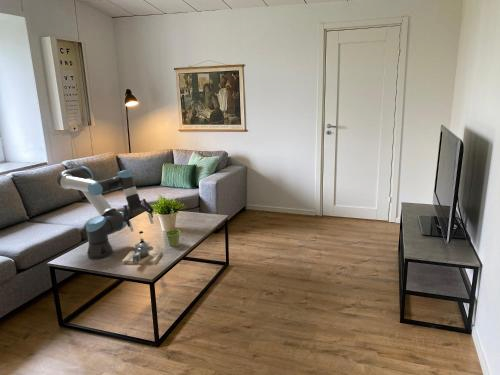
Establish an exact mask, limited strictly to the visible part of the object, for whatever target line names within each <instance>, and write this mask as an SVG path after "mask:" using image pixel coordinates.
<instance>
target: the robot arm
mask: <svg viewBox="0 0 500 375" xmlns="http://www.w3.org/2000/svg"><path fill="white" fill-rule="evenodd" d="M55 183H56V185H57V186H58V187H59V188H61V189H64V190H70V189H71V190H72V189H73V190H77V191H81V192H82V193H83V194H84V196H85V197H86V199H87V200H88V201H89V203H90V204H91V205H92V206H93V208H94V209H95V211H97V213H98V214H99V215H98V216H94V217H92V218H90V219H88V220H87V221H86V223H85V230H86V234H87V235H86V236H87V242H88V248H87V252H86V253H87V254H86V256H87V258H89V259H93V260H99V259H104V258H107V257H109V256H111V255H112V254H113V252H114V249H113V247H112V244H111V243H110V240H109V235H112V234H115V233H116V232H120V231H122V230H124V229H125V228H126V227H128V228H129V230H130V232H132V233H133V232H134V231H135V229H134V227H133V225H132V222H131V220H130V219H131V217H132V213H133V212H134V211H135V210H138V209H142V210H143V211H144V212H146V213H147V216H148V219H149V222H150V224H152V225H154V224H155V221H154V220H153V219H154V215H153V212H154V211H155V209H154V207H152V206H151V205H150V204H149V203H148V202H147V200H146V199H145V198H143V199H140V195H139V193H138V190H137V187H136V183H135V181H134V178H133V174H132V172H131V170H130V169H124V170H121V171H118V172H117V176H114V177H111V178H107V179H103V180H94V175H93V172H92V171H91V169H90V168H89V167H87V166H76V167H73V168H68V169H65V170H61V171H59V173H57V175H56V177H55ZM118 189H122V191H123V194H124V196H125V200H126V202H127V204H124V205H123V211H118V210H117V209H116V208H115V207H112V206H111V204H110V203H109V202H108V201H107V199H106V198H105V197H104V196H103V195H102V194H106V193H108V192H112V191H116V190H118ZM128 208H129V210H128Z"/></svg>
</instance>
